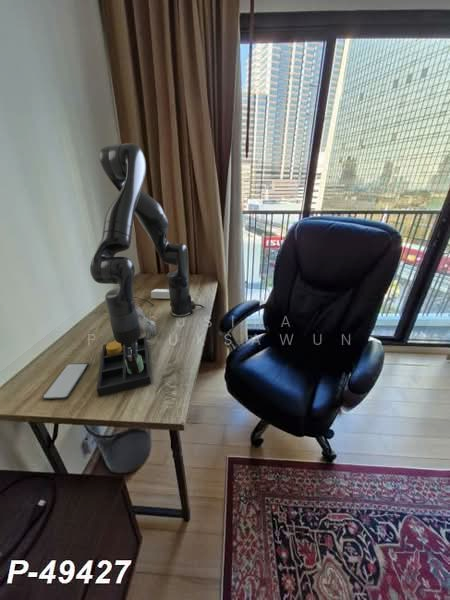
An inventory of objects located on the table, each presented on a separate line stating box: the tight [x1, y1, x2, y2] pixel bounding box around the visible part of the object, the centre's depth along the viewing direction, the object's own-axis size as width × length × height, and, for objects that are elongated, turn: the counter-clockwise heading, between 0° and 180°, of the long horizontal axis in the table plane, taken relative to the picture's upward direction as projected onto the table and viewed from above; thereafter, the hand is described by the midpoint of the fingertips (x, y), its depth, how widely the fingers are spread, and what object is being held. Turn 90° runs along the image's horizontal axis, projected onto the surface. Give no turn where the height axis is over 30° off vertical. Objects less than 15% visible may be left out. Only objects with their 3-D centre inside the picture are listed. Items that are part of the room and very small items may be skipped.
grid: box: [96, 336, 152, 397], centre depth 87 cm, size 15×23×3 cm
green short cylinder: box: [125, 355, 144, 374], centre depth 80 cm, size 5×5×4 cm
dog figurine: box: [135, 306, 157, 340], centre depth 103 cm, size 5×13×11 cm, turn 52°
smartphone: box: [42, 362, 89, 400], centre depth 81 cm, size 7×1×15 cm
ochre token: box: [105, 340, 123, 356], centre depth 91 cm, size 5×5×4 cm
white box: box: [150, 288, 170, 300], centre depth 134 cm, size 13×7×8 cm, turn 85°
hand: (135, 367), depth 81 cm, fingers closed on green short cylinder, 5 cm apart
